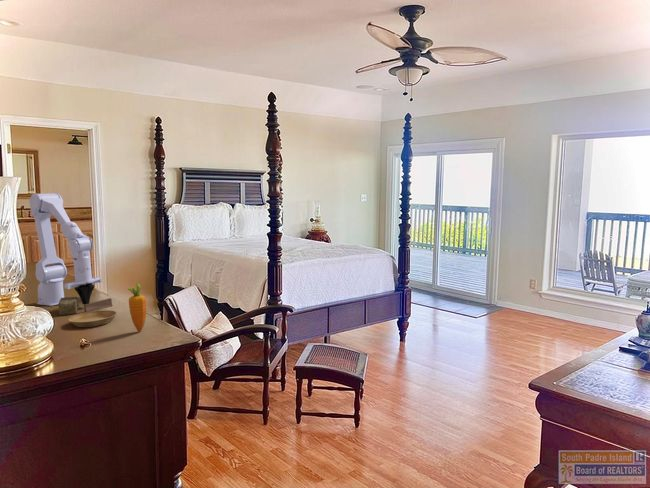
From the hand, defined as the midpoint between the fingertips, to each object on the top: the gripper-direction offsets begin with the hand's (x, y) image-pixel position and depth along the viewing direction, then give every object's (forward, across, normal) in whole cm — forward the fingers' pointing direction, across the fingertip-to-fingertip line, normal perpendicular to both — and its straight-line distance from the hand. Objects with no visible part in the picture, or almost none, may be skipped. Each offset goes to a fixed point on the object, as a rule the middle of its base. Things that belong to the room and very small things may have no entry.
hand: (85, 304), depth 182 cm
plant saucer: (+2, -13, -22) cm, 26 cm away
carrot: (+2, -15, -46) cm, 49 cm away
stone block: (+2, -7, +1) cm, 7 cm away
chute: (+1, 0, 0) cm, 1 cm away
